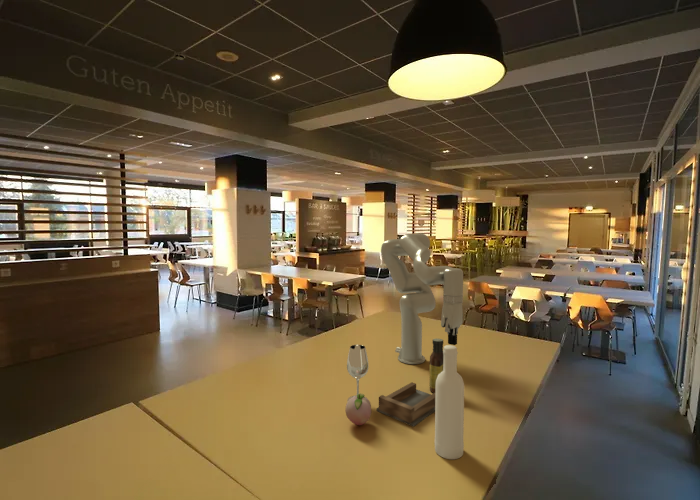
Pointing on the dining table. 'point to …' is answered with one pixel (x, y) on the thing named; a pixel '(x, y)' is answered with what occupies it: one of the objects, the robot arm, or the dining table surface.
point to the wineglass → (357, 363)
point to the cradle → (407, 404)
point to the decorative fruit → (358, 409)
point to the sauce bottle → (436, 363)
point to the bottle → (449, 408)
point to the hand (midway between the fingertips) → (452, 344)
